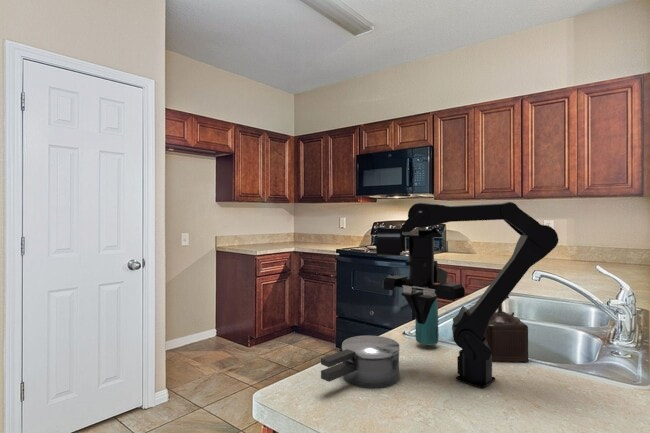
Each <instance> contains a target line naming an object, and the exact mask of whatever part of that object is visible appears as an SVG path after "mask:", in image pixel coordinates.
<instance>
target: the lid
mask: <svg viewBox="0 0 650 433" xmlns="http://www.w3.org/2000/svg"><path fill="white" fill-rule="evenodd" d="M398 353H399V354H400V343H399V342H397V341H396V340H395V339H392V338H389V337H386V336H381V335H380V336H379V335H357V336H352V337H348V338H346V339H345V340H343V341H342V344H341V351H338V352H335V353H332V354H330V355H325V356H324V357H321V358H320V365H322V366H324V367H327V368H330V367H332V366H335V365H337V364H340V363H343V362H344V361H347V360H350V359H352V358H355V357H357V358H363V359H384V358H389V357H393V356H395V355H397V354H398Z"/></svg>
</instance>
